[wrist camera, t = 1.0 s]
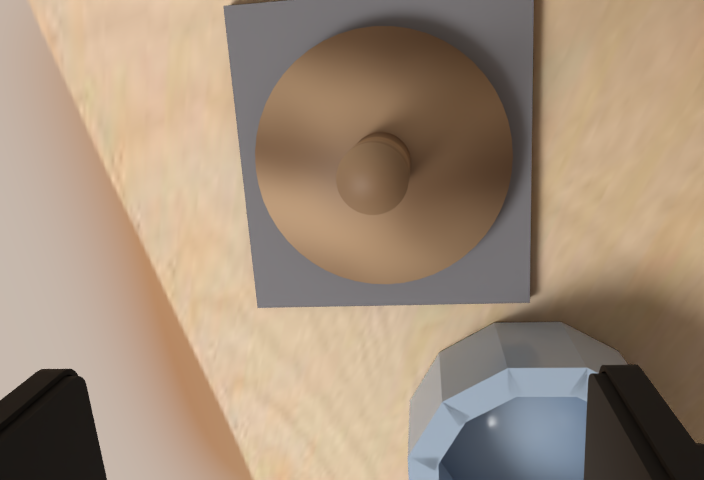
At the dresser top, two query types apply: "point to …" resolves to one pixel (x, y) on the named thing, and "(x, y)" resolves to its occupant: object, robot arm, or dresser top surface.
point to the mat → (439, 21)
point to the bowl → (506, 405)
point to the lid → (383, 155)
